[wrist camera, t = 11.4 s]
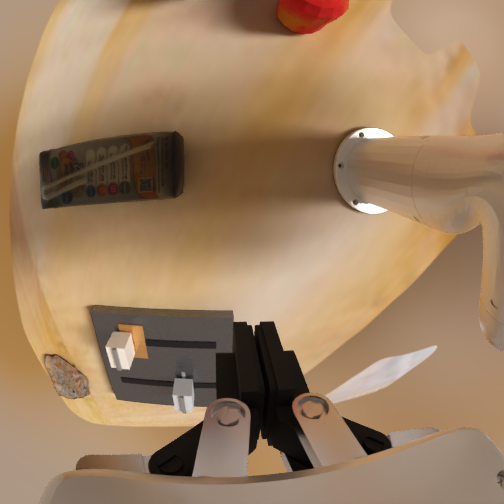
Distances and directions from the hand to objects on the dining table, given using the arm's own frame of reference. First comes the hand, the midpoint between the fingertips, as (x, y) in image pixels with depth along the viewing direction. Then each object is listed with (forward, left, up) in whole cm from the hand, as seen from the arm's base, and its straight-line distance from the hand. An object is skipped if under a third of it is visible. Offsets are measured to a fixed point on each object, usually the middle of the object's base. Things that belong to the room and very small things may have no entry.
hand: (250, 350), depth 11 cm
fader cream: (+16, +19, -25) cm, 35 cm away
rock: (+32, +31, -28) cm, 52 cm away
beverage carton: (+16, -6, -28) cm, 32 cm away
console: (+10, +24, -27) cm, 38 cm away
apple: (-8, -30, -27) cm, 41 cm away
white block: (+7, +28, -25) cm, 38 cm away
